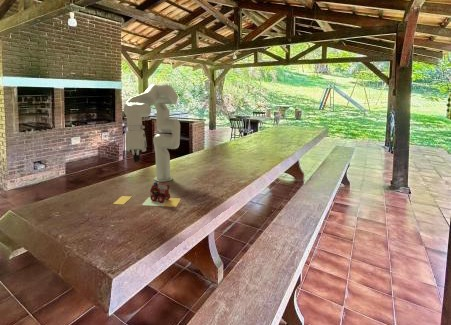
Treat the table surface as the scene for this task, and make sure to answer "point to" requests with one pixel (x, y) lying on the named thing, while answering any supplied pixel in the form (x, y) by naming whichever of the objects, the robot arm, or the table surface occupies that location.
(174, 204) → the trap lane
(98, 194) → the table surface
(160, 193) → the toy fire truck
